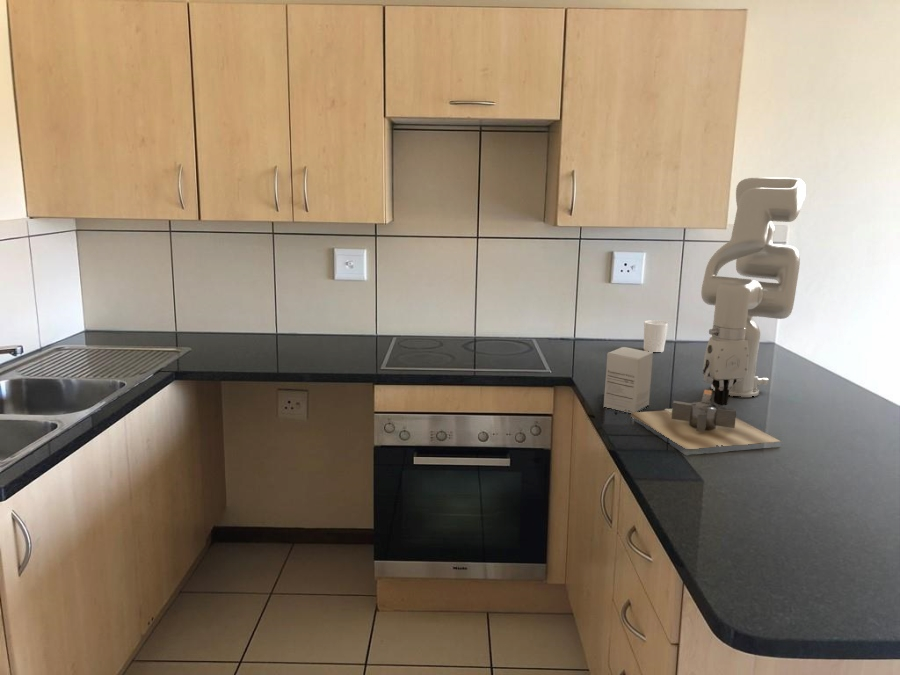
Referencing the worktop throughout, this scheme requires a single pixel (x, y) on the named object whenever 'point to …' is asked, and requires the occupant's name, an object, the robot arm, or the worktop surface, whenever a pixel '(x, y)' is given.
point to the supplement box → (628, 379)
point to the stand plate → (710, 438)
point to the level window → (668, 411)
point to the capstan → (704, 414)
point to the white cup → (655, 335)
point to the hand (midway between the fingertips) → (720, 403)
